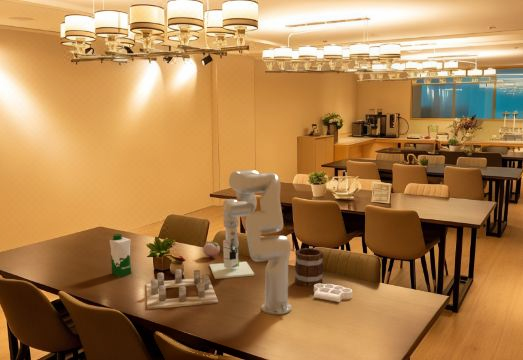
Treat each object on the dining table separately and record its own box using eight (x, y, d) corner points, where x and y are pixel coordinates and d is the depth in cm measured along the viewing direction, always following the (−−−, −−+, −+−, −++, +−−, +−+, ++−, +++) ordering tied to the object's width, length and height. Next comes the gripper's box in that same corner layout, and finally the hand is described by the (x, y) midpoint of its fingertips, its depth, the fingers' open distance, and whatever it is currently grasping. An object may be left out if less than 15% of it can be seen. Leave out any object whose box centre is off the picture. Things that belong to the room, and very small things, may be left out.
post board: (218, 302, 215) (217, 287, 214) (147, 309, 208) (146, 293, 207) (208, 279, 244) (208, 265, 243) (146, 284, 237) (145, 270, 236)
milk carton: (123, 269, 258) (121, 232, 255) (134, 273, 252) (132, 235, 249) (108, 274, 251) (107, 236, 248) (120, 278, 245) (118, 239, 242)
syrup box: (232, 269, 252) (231, 241, 250) (223, 267, 256) (222, 239, 254) (239, 266, 257) (239, 239, 254) (230, 264, 260) (230, 237, 258)
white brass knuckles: (306, 298, 222) (318, 287, 235) (345, 305, 214) (355, 294, 227) (307, 291, 221) (318, 280, 234) (345, 298, 213) (355, 287, 226)
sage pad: (254, 275, 249) (254, 273, 249) (214, 278, 245) (214, 276, 245) (246, 263, 269) (246, 261, 269) (209, 266, 264) (209, 264, 264)
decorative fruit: (200, 259, 276) (200, 241, 274) (206, 254, 283) (206, 238, 282) (216, 260, 273) (216, 243, 271) (221, 256, 281) (221, 239, 279)
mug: (321, 288, 233) (322, 257, 231) (292, 285, 236) (293, 255, 233) (324, 274, 252) (325, 245, 250) (298, 272, 255) (298, 244, 252)
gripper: (241, 227, 245) (241, 261, 248) (235, 219, 262) (235, 251, 265) (226, 227, 244) (227, 262, 246) (221, 220, 260) (221, 252, 263)
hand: (231, 256), depth 255 cm, fingers closed on syrup box, 7 cm apart
